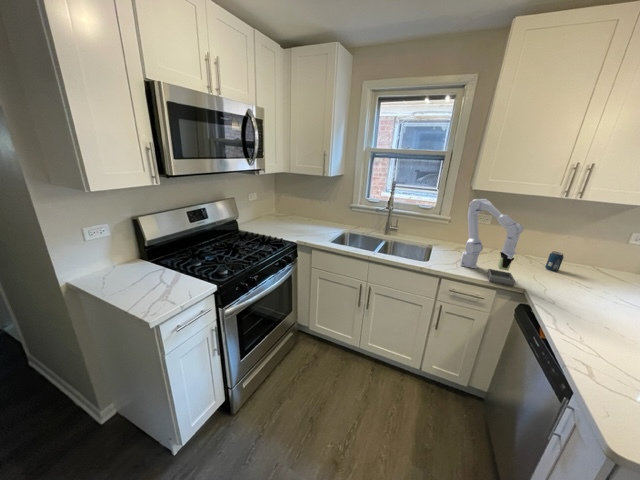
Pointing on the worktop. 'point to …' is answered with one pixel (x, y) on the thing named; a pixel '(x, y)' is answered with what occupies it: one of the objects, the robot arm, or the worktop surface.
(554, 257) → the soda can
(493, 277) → the bin
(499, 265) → the light green block
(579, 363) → the worktop surface
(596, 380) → the worktop surface
